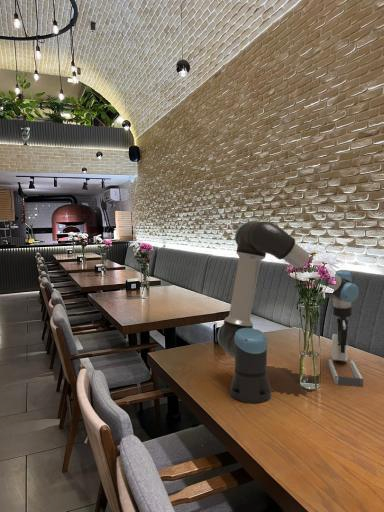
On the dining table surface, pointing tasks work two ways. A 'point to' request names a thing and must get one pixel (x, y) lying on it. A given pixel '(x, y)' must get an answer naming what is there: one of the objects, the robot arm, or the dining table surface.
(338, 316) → the robot arm
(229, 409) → the dining table surface
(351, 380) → the grey flat u-shaped frame
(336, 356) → the can
